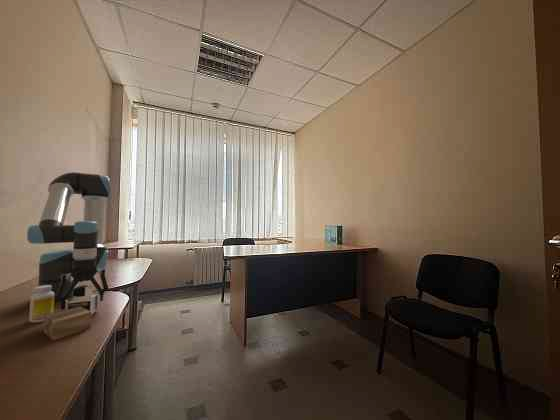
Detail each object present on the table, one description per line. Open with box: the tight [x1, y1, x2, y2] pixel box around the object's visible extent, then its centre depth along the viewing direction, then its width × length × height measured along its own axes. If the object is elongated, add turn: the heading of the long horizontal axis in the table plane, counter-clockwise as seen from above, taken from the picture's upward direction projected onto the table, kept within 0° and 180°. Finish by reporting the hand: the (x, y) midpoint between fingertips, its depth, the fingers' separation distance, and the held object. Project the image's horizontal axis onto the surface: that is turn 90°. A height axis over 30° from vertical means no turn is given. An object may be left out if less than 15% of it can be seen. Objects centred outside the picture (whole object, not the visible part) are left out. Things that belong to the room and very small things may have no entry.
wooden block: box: [43, 306, 92, 341], centre depth 81 cm, size 10×10×6 cm
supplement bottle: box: [28, 285, 55, 324], centre depth 89 cm, size 7×7×13 cm
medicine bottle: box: [68, 284, 97, 317], centre depth 93 cm, size 7×7×12 cm
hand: (82, 313), depth 93 cm, fingers closed on medicine bottle, 9 cm apart
